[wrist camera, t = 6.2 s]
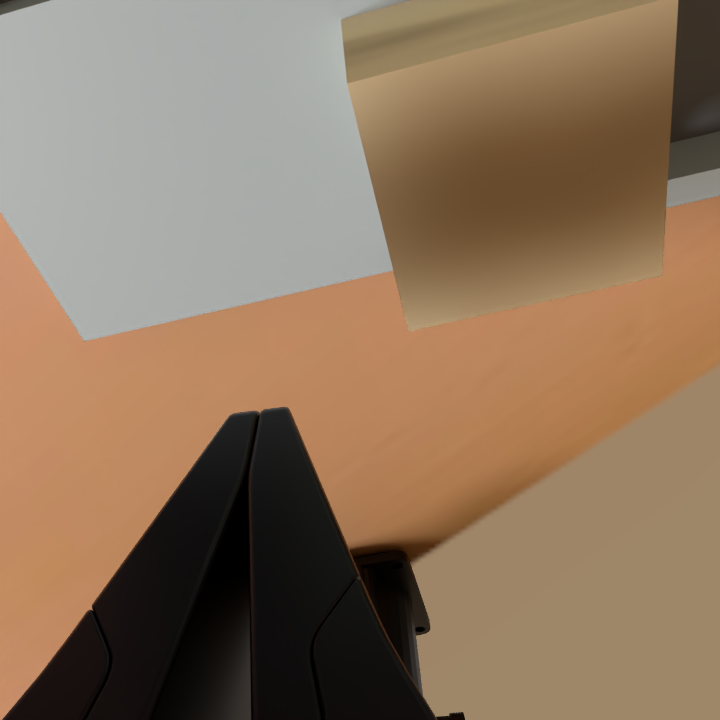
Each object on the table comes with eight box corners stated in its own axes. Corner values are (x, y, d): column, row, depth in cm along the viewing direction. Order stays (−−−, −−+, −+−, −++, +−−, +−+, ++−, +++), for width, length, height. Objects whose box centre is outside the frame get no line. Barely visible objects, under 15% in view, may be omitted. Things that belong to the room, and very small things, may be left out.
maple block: (596, 185, 16) (662, 276, 13) (391, 233, 17) (408, 331, 14) (592, -51, 13) (679, -6, 10) (340, 19, 13) (347, 83, 10)
